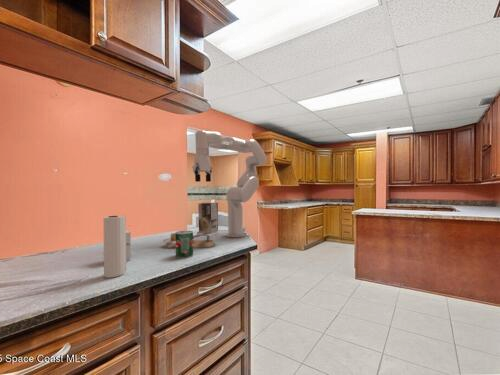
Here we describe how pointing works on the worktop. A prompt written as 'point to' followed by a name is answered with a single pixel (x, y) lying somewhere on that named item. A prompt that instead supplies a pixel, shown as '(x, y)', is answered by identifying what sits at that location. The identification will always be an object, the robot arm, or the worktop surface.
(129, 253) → the supplement box
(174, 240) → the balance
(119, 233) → the paper towel roll
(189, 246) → the canned tomato
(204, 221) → the coffee box
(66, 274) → the worktop surface
